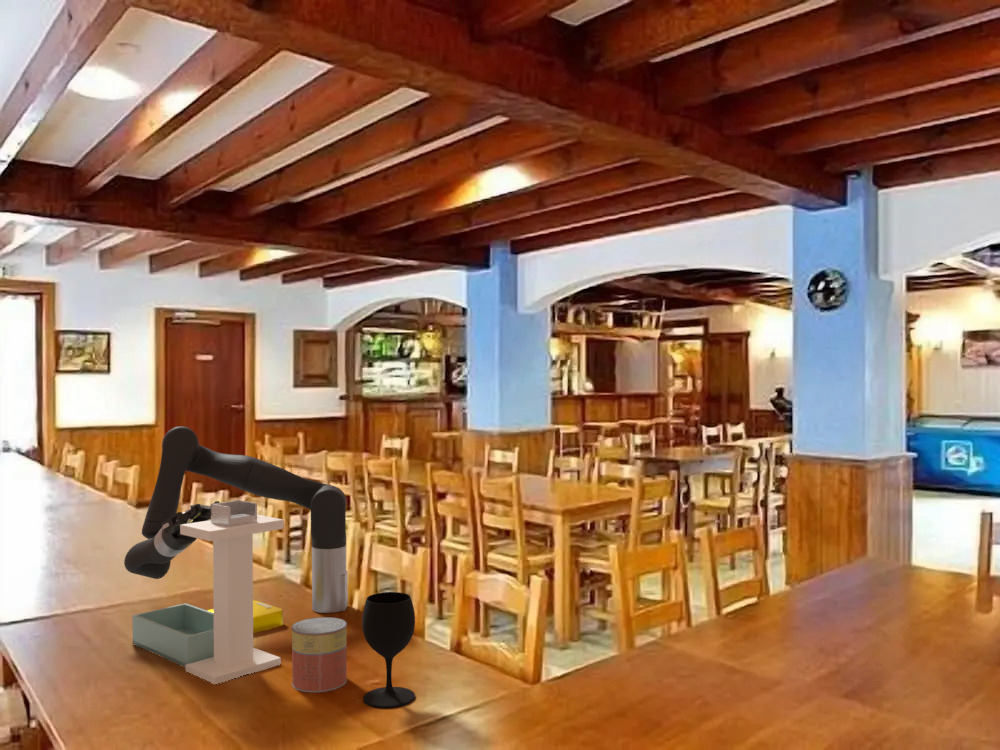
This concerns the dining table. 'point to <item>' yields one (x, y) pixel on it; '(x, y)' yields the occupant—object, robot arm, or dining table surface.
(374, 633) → the wine glass
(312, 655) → the canned food
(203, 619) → the bin
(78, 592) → the dining table surface
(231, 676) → the white i-beam pedestal
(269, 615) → the element tile
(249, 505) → the brushed metal dustpan
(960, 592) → the dining table surface
